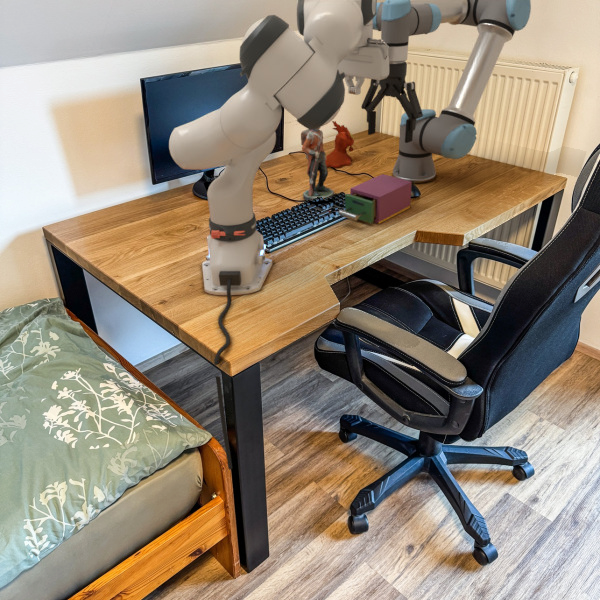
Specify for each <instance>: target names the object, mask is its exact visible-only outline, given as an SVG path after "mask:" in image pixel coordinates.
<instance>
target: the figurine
mask: <svg viewBox="0 0 600 600" xmlns="http://www.w3.org/2000/svg"><path fill="white" fill-rule="evenodd" d="M300 142H301V143H300V144H301V151H302V152H303V153H305V154H306V155H305V159H306V160H307V170H306V174H307V176H308V177H309V179H308V180H309V181H308V182H309V188H308V189H307V190H305V191H304V192H303V193H302V198H303V200H305V201H307V202H309V201H308V200H311V199H315V198H317V197H322V198H327V197H329V196H331V195H334V196H335V191H334V190H333V189H331V188H330V187H327V186H325V182H326V179H327V178H328V174H329V171H328V167H326V163H325V161H326V156H327V155H326V152H325V151H326V150H325V149H324V133H323V130H322V129H321V127H319V128H318V129H313V130H310V129H308V128H306V129H305V130H302V131H301V133H300ZM318 172H319V173H318ZM318 174H319V176H318ZM317 178H318V181H317ZM316 181H317V183H316Z"/></svg>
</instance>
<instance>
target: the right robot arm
mask: <svg viewBox="0 0 600 600" xmlns="http://www.w3.org/2000/svg"><path fill="white" fill-rule="evenodd" d="M531 3H532V2H531V0H384V1H381V2H377V6H376V16H375V17H374V18H373V19H372V20H373V31H378V32H380V39H382V40H384V42H386V44H387V45H388V57H389V75H388V77H387V78H386V79H382V80H374V79H370V85H369V88H368V89H367V92H366V94H365V96H364V99H363V101H362V104H361V109H362V110H365V112H366V123H368V124H367V135H368V136H371V135H374V134H376V131H377V130H376V127H377V111H376V108H377V106H378V105H379V104H380V103H381V102H382V100H383V99H384V98H385V97H391V98H396V100H398V102H399V103H400V105H401V107H402V110H403V111H404V113H402V115H401V116H400V124H399V136H398V137H399V139H398V140H399V143H398V144H399V145H398V155H397V158H396V161H395V163H394V165H393V168H392V175H391V176H392V177H396V178H400V179H403V180H407V181H411V182H412V184H424V183H430V182H432V181H434V180H435V179H436V174H437V173H436V167H435V163H434V159H433V155H436V156H441V157H443V158H445V159H452V160H459V159H462V158H463V157H465V156H467V155H468V154H469V153H470V152H471V150H472V149H473V147H474V145H475V143H476V141H477V133H478V132H477V128H476V126H475V125H476V120H475V117H474V115H475V112H476V110H477V108H478V106H479V104H480V101H481V99H482V96H483V94H484V92H485V90H486V87H487V85H488V82H489V80H490V78H491V76H492V74H493V71H494V68H495V67H496V64H497V61H498V59H499V57H500V55H501V52H502V50H503V48H504V46H505V44H506V43H507V42H510V41H511V40H512V39H513V38H514V35H515V33H516V32H519V31H521V30H523V29H524V28H526V26H527V24H528V22H529V20H530V16H531V12H532V11H531V10H532V4H531ZM441 24H449V25H452V26H456V25H464V26H470V27H476V30H477V33H478V35H477V38H476V40H475V42H474V45H473V47H472V50H471V52H470V55H469V57H468V59H467V62H466V65H465V66H464V68H463V70H462V73H461V76H460V78H459V80H458V83H457V85H456V87H455V90H454V92H453V94H452V97H451V99H450V101H449V104H448V106H447V107H445V108H443V109H441V111H440V113H439V116H437V113H436V112H437V111H436V110H434V109H430V108H429V109H428V108H425V109H423V108H422V107H421V104H420V101H419V98H418V95H417V91H416V82H415V81H410V82H406V76H407V71H408V63H407V62H406V61H407V60H408V54H409V41H410V39H409V38H410V37H412V36H419V35H428V34H431V33H434V32H436V31H437V30H438V29H439V27H440V26H441ZM384 45H385V44H384ZM379 86H380V89H379V90H378V88H379ZM377 91H378V92H377ZM376 92H377V94H376Z"/></svg>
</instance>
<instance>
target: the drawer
mask: <svg viewBox="0 0 600 600" xmlns="http://www.w3.org/2000/svg"><path fill="white" fill-rule="evenodd" d="M376 212H377V199H373V198H370V197H367V196H363V195H360V194H357V193H355V194H354V196H353V195H350V193H346V194H344V209H339V210H338V212H337V213H338V216H340V217H343V218H347V219H349V220H352V221H355V222H356V221H358V220H360V221H363V222H364V223H368V224H373V223H374V222H373V220H374V218H376Z"/></svg>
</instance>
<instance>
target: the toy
mask: <svg viewBox="0 0 600 600" xmlns="http://www.w3.org/2000/svg"><path fill="white" fill-rule="evenodd" d="M331 123H332V124H333V126H334V127H332V130H335V131H336V132H337V134H336V135H335V137H334V148H333V150H332V151H331V152H330V153H329V154H327V155H326V161H325V163H326V167H327V168H336V169H337V168H341V167H344V166H350V165H351V164H352V160H353V159H352V156H351V155H349V153H348V152H347V151H349V152H353V151H354V147H353V146H354V144H355V140H354V136H353V134H352V133H351V132H350V131H349V128H348V127H347V126H345V124H342V125H340V124H338V123H337V121H336V120H335V121H334V120H332V121H331ZM347 149H348V150H347Z"/></svg>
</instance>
